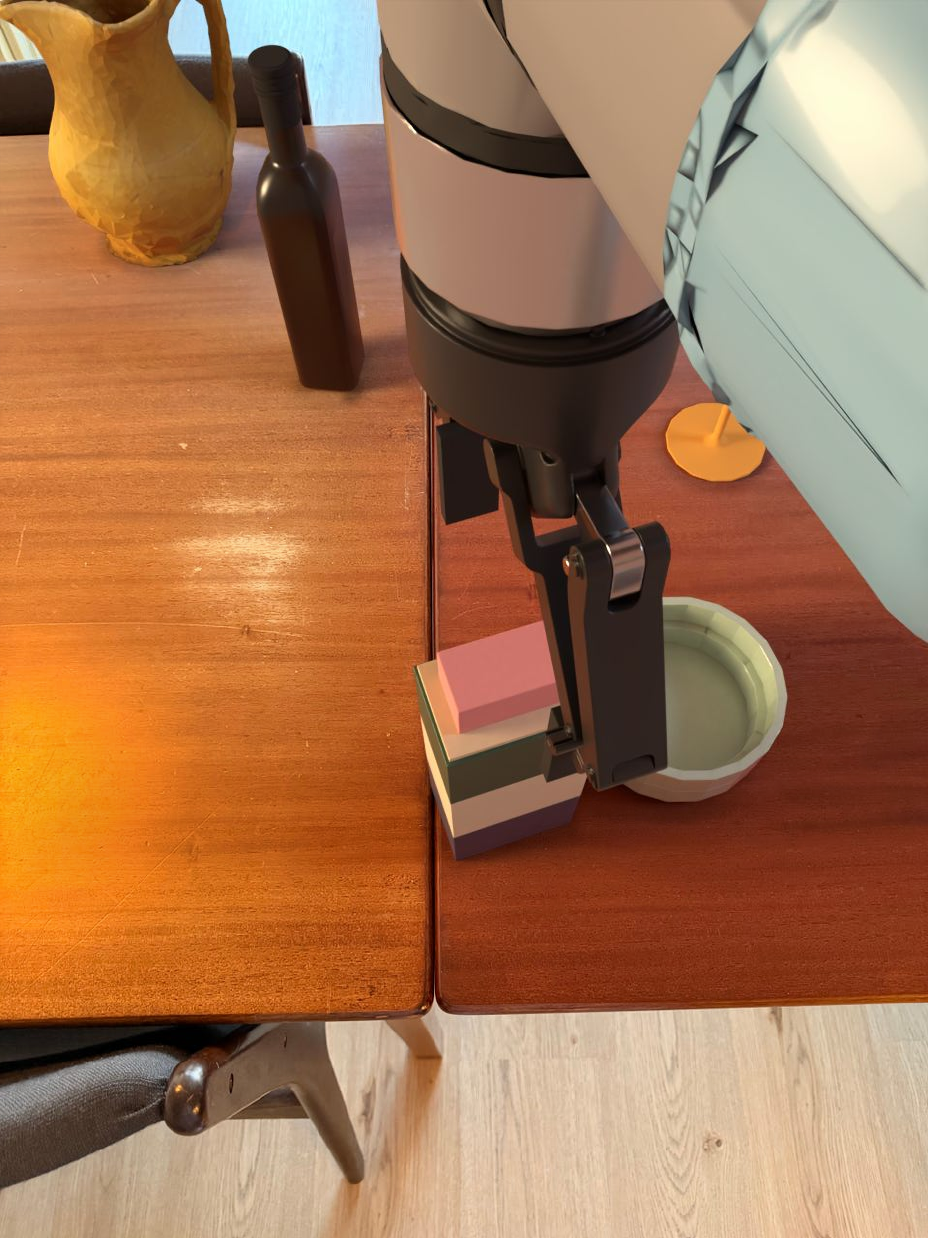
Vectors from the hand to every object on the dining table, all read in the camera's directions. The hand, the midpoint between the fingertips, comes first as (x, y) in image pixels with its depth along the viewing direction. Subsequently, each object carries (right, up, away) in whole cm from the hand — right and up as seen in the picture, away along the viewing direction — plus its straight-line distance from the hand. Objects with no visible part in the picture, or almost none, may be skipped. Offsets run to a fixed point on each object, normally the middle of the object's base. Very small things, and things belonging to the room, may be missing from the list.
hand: (517, 629), depth 41 cm
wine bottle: (-15, +25, +46) cm, 55 cm away
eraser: (0, -3, +7) cm, 7 cm away
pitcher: (-34, +42, +56) cm, 78 cm away
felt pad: (0, -3, +7) cm, 8 cm away
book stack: (0, -13, +27) cm, 30 cm away
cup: (+21, +17, +42) cm, 50 cm away
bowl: (+14, -7, +30) cm, 33 cm away
